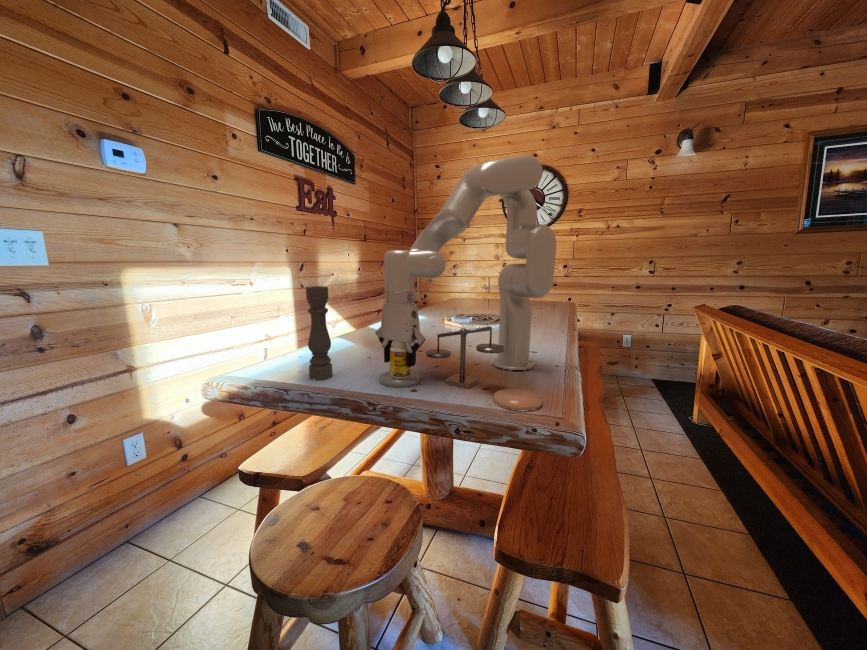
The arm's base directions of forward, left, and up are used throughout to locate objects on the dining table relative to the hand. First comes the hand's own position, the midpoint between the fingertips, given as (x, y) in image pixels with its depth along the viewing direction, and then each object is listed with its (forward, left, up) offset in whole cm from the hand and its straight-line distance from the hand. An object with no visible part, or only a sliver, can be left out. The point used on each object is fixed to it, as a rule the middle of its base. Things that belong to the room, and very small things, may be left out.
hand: (399, 363), depth 99 cm
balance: (-8, +15, -5) cm, 18 cm away
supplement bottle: (0, 0, -4) cm, 4 cm away
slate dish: (0, 0, -5) cm, 5 cm away
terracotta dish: (-4, +32, -5) cm, 33 cm away
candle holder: (+10, -20, -5) cm, 23 cm away
